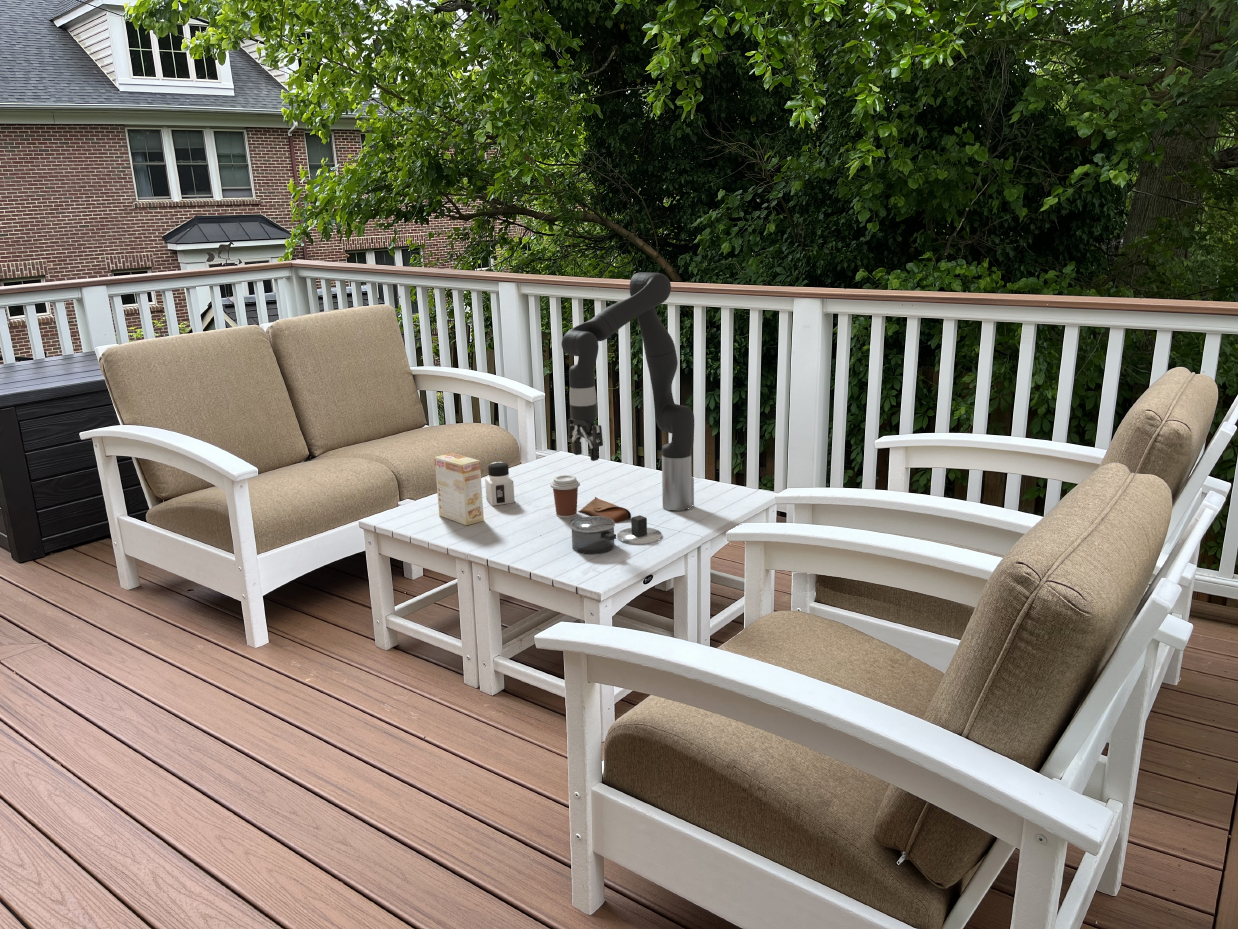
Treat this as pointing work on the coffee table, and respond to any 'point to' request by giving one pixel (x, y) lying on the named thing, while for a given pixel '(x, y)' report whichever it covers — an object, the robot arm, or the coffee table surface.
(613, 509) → the sunglasses case
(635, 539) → the lid
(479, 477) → the coffeecake box
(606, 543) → the pot
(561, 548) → the coffee table surface
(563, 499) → the coffee cup
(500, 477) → the container
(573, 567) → the coffee table surface
